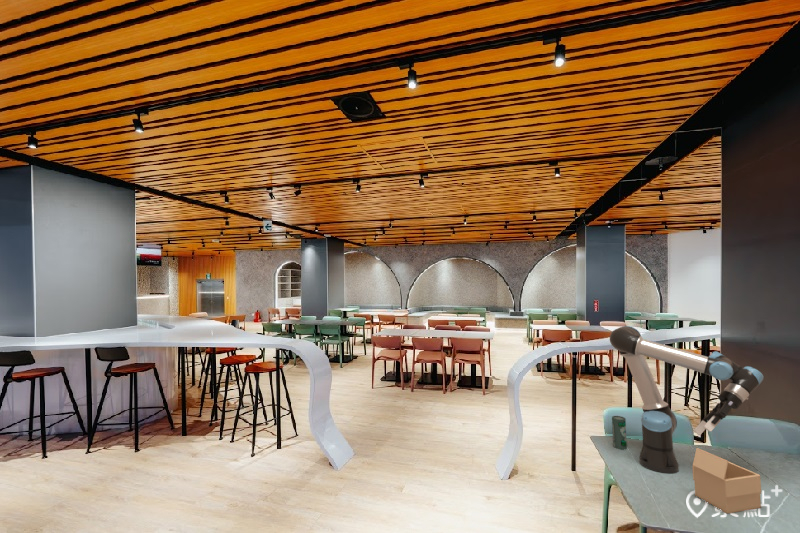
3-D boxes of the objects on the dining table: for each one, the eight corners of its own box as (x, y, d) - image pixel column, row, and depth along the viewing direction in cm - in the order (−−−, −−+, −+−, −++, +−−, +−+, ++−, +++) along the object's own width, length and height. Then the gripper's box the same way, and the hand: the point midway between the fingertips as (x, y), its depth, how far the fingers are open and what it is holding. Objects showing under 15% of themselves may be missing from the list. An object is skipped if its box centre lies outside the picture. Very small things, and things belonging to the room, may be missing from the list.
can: (626, 450, 193) (625, 420, 194) (613, 448, 196) (611, 418, 197) (626, 446, 198) (625, 417, 199) (613, 443, 201) (612, 415, 202)
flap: (724, 479, 140) (723, 479, 140) (693, 465, 151) (692, 465, 151) (728, 461, 141) (727, 460, 140) (697, 447, 152) (696, 447, 152)
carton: (728, 514, 138) (726, 480, 139) (694, 495, 151) (692, 464, 152) (763, 508, 142) (761, 475, 142) (727, 490, 154) (725, 460, 155)
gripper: (755, 397, 153) (721, 434, 151) (730, 408, 174) (701, 441, 172) (735, 383, 158) (702, 420, 155) (713, 395, 178) (684, 427, 176)
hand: (701, 431), depth 163 cm, fingers open, 13 cm apart
